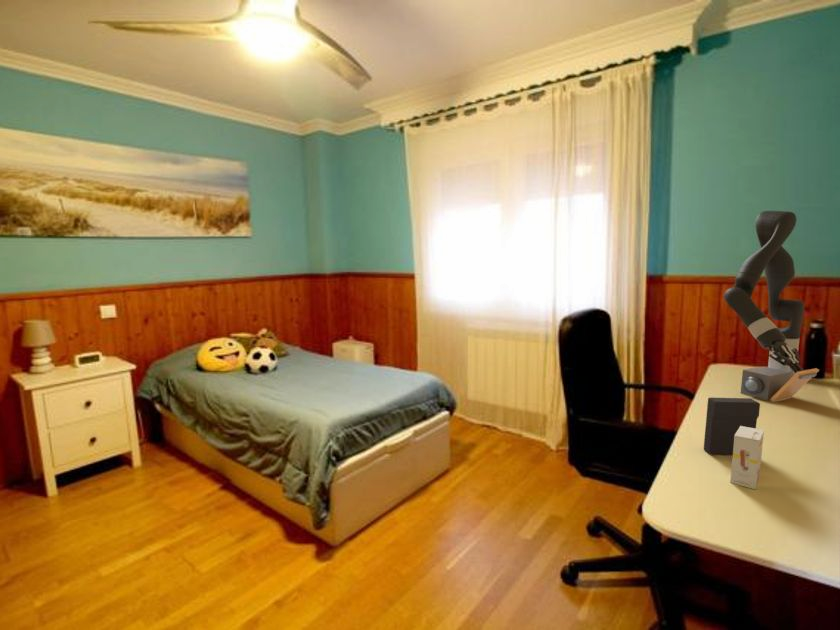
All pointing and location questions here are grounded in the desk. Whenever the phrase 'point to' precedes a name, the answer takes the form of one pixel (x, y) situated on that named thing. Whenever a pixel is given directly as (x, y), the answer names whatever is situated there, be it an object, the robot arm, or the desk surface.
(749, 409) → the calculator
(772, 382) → the camera housing
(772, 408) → the desk surface
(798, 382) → the side door
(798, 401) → the desk surface
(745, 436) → the ink box
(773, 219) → the robot arm
